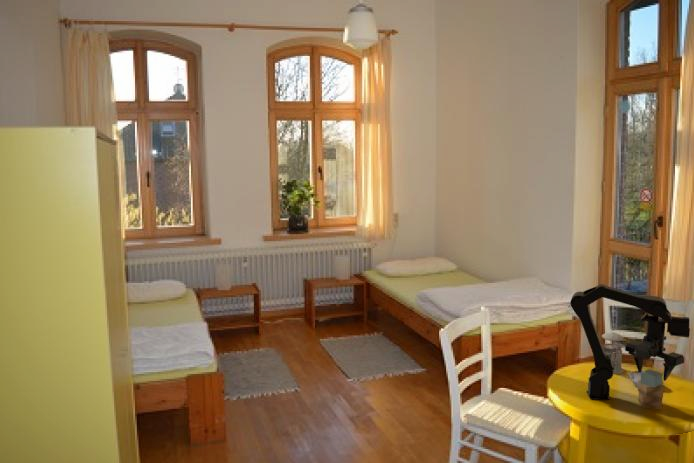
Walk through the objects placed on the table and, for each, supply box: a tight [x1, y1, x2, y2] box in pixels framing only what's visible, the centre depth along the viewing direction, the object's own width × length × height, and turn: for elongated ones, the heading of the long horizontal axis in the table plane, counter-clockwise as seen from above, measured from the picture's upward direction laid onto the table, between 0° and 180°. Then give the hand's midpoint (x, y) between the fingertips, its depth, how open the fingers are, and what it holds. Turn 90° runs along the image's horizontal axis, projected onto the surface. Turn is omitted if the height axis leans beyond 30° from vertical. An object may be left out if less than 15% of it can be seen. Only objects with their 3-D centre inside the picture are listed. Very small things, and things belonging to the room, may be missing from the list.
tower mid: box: [637, 380, 665, 398], centre depth 220 cm, size 6×6×4 cm
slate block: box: [641, 368, 664, 387], centre depth 219 cm, size 5×5×4 cm
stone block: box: [628, 370, 664, 389], centre depth 239 cm, size 12×5×10 cm
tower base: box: [637, 391, 664, 410], centre depth 221 cm, size 6×6×4 cm
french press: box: [601, 309, 625, 375], centre depth 251 cm, size 10×12×25 cm
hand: (652, 376), depth 219 cm, fingers open, 9 cm apart
